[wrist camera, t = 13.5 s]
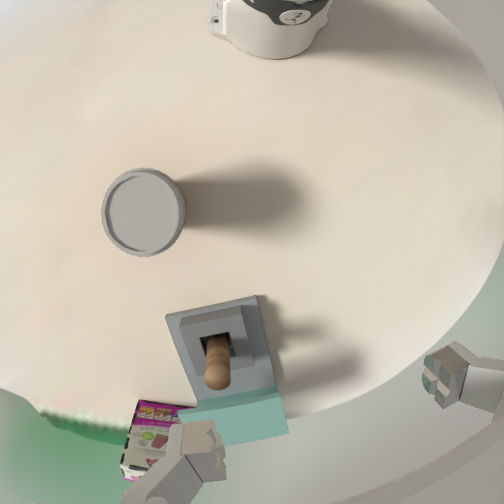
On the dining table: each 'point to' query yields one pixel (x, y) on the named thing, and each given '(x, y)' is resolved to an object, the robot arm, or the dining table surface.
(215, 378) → the walnut dowel
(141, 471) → the candy bar box
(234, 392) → the socket station
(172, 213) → the disposable coffee cup
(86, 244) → the dining table surface
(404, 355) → the dining table surface
